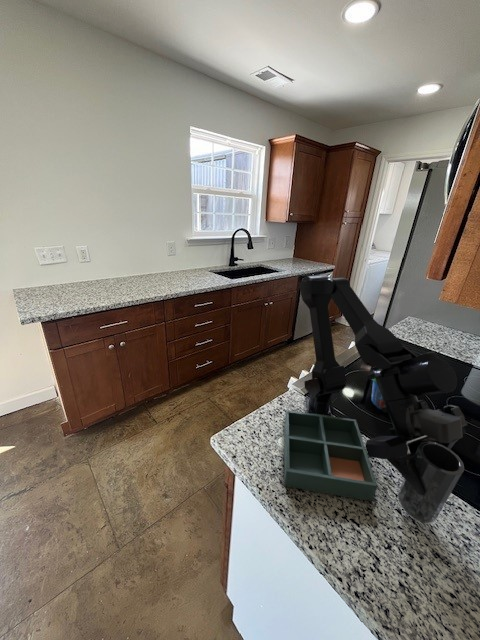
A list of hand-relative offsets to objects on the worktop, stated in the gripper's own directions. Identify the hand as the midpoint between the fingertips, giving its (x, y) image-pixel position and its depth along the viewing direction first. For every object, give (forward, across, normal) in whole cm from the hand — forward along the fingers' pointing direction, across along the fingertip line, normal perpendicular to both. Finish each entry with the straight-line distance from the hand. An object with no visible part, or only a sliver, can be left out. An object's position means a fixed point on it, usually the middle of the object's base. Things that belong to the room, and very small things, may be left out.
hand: (435, 488), depth 46 cm
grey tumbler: (+4, 0, +6) cm, 7 cm away
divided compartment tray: (-6, -9, +19) cm, 22 cm away
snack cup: (-12, +20, +26) cm, 35 cm away
